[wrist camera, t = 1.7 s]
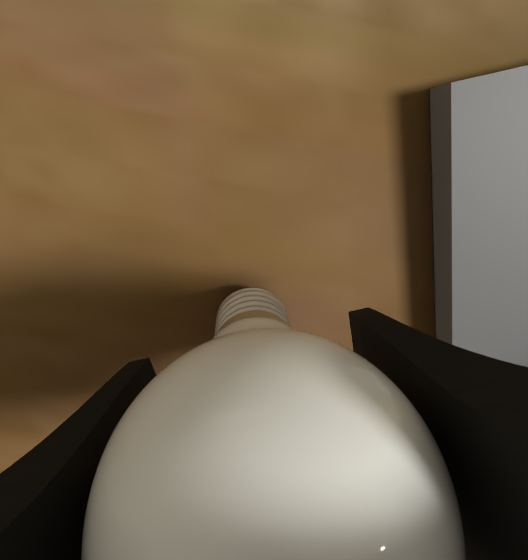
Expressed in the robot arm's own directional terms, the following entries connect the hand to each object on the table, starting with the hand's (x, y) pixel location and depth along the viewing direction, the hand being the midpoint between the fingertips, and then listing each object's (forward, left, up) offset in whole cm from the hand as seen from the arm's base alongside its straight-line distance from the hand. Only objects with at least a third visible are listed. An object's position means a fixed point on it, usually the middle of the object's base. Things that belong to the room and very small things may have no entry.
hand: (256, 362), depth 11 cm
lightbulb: (0, 0, -4) cm, 4 cm away
